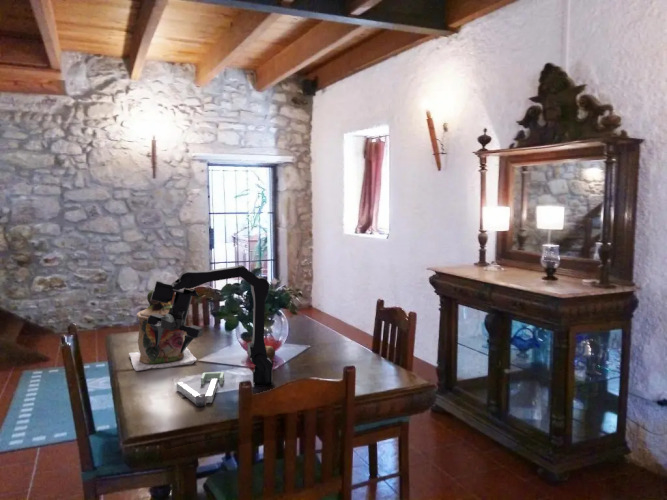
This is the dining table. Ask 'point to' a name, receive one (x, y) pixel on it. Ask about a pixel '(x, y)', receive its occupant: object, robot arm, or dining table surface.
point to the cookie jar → (168, 345)
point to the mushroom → (270, 352)
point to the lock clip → (212, 377)
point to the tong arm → (191, 394)
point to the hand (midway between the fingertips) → (169, 349)
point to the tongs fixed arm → (211, 390)
